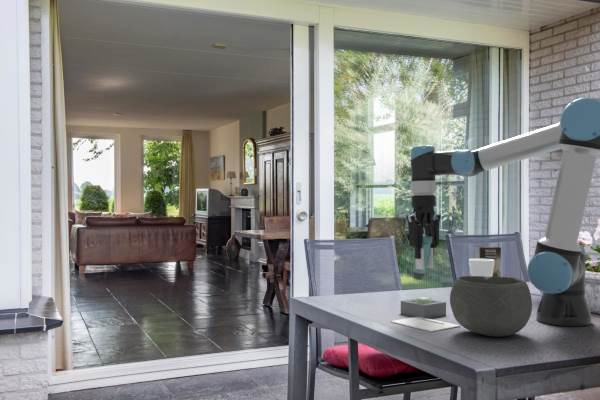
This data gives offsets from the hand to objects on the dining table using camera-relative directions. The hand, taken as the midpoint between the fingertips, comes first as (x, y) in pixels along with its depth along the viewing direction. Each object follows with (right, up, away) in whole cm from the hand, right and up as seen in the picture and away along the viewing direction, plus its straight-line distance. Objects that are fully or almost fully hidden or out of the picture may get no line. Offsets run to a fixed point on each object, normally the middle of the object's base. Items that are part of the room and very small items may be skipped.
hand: (424, 268), depth 193 cm
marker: (-2, -3, +3) cm, 4 cm away
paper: (-3, -15, -15) cm, 21 cm away
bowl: (+12, -15, -28) cm, 34 cm away
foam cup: (+30, -14, +42) cm, 54 cm away
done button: (0, -14, 0) cm, 15 cm away
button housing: (0, -14, 0) cm, 15 cm away
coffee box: (+40, -14, +66) cm, 79 cm away
